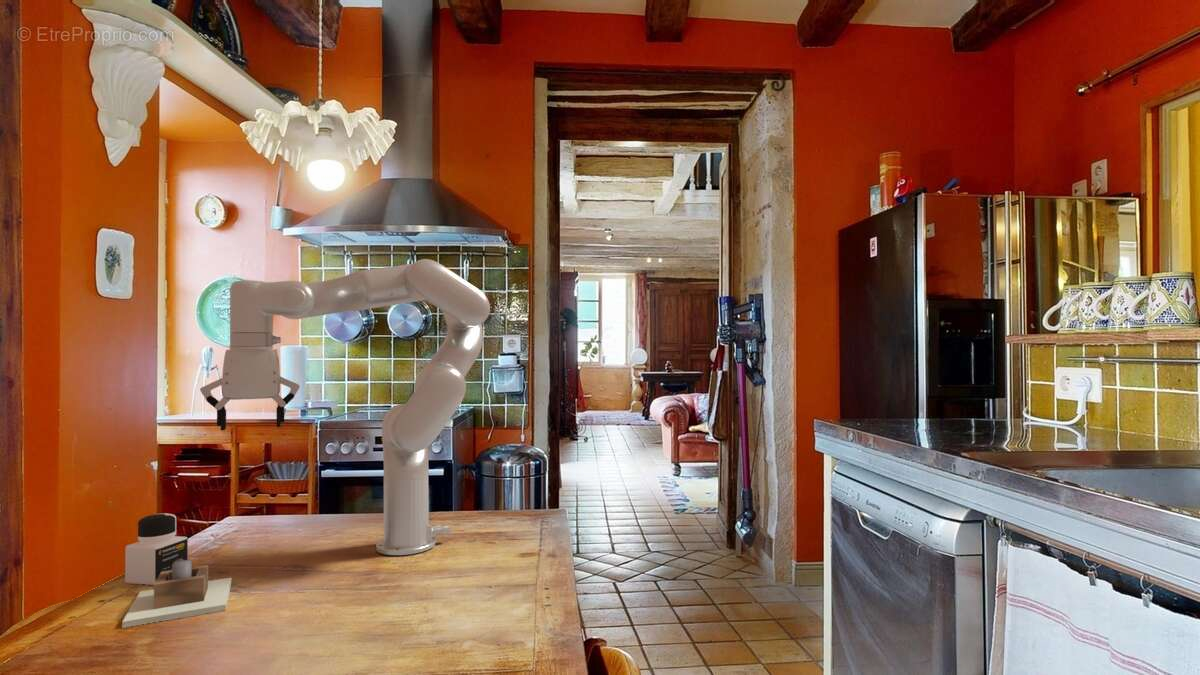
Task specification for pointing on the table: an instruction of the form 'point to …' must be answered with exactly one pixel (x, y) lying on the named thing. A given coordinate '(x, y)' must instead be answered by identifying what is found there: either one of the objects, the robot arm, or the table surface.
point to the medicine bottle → (154, 549)
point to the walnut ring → (180, 588)
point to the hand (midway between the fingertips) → (251, 427)
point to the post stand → (146, 613)
